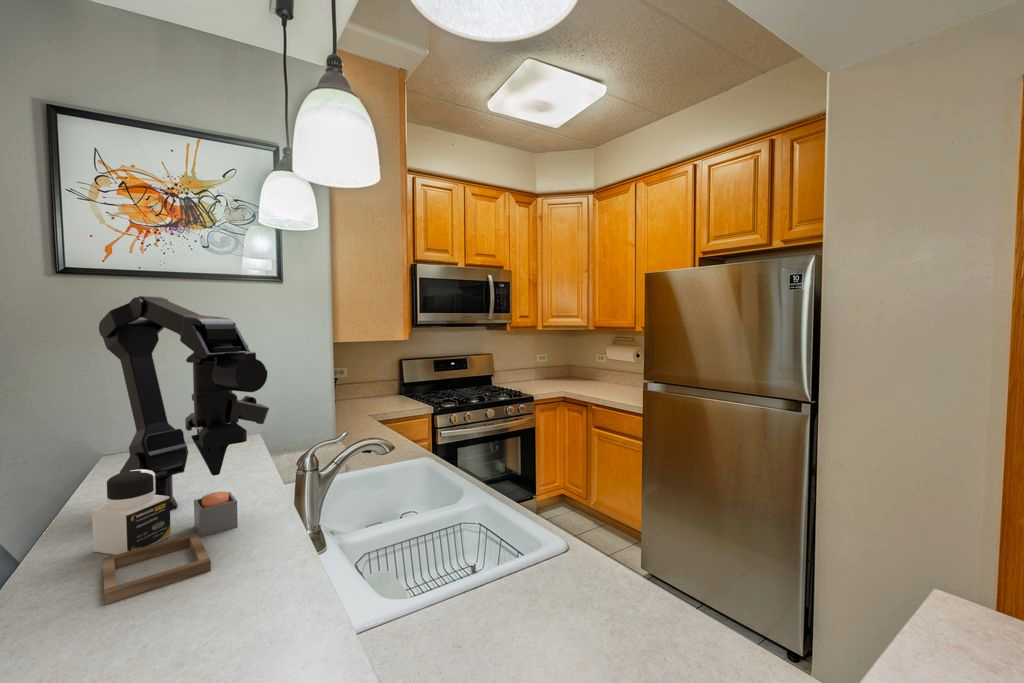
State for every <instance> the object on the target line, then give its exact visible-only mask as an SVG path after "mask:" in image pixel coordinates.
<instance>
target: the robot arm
mask: <svg viewBox="0 0 1024 683" xmlns="http://www.w3.org/2000/svg"><path fill="white" fill-rule="evenodd" d="M164 328H165V329H167V330H169V331H171V332H173V333H176V334H178V336H180V338H179V340H180V343H182V344H183V345H184V346H186V347H187V348H188V349H189V350H191V351H192V353H191V354H190V355H188V356H187V358H186V359H185V361H186V363H189V364H192V375H193V376H192V377H193V378H192V380H193V393H192V394H191V400H192V402H193V411H194V412H191V413H190V414H189V415H188V416H187V417H185V429H186V430H187V431H188V432H189V431H192V430H193V428H195V429H196V434H193V435H191V439H192V442H193V443H194V444H195V446H196V448H197V450H198V452H199V454H200V456H201V458H202V459H203V461H204V463H205V465H206V468H208V470H209V473H210V474H211V476H218V475H220V474H221V471H222V466H223V462H224V459H225V455H226V453H227V450H228V449H227V448H228V447H229V446H230V445H234V444H235V445H237V444H243V443H246V442H247V441H248V440H247V439H248V437H247V435H248V434H247V432H248V431H247V429H245V428H244V427H242V426H241V425H240V424H238V423H239V420H243V421H247V422H254V423H255V424H258V425H264V424H265V421H266V418H267V416H268V413H269V411H270V410H269V409H270V408H269V407H268V406H267V405H264V404H262V403H257V398H256V397H254V396H251V395H245V396H244V397H242V399H238V395H237V394H236V393H234V392H244V393H254V392H257V391H259V390H260V389H262V388H263V387H264V385H265V383H267V382H266V381H267V379H268V370H267V369H266V366H265V365H264V363H263V362H262V361H261V360H259V359H257V353H256V352H255V351H250V349H249V345H248V344H247V342H246V341H245V339H244V337H243V335H242V334H241V331H240V330H239V328H238V327H237V324H236V322H235V321H234V320H233V319H232V318H228V317H223V316H222V317H221V316H215V315H214V316H210V315H202V314H199V313H197V312H194V311H192V310H189V309H187V308H186V307H184V306H183V307H182V306H180V305H178V304H175V303H173V302H171V301H169V300H168V298H164V297H161V296H145V295H144V296H143V295H142V296H141V295H139V296H137V297H136V296H135V297H133V298H132V299H131V300H130V301H129V302H128V303H126V304H125V303H124V305H121V306H118V307H116V308H113V309H111V310H109V311H108V312H107V313H106V315H105V316H104V317H103V318H102V319H101V320H100V322H99V325H98V332H99V335H100V336H101V337H102V340H103V342H104V345H105V348H106V349H107V350H108V351H110V353H111V354H113V355H114V356H115V357H116V358H118V360H119V361H120V364H121V369H122V372H123V374H122V375H123V377H124V381H125V385H126V387H125V388H126V391H127V395H128V399H129V404H130V408H131V413H132V417H133V421H134V422H133V423H134V425H135V426H134V427H135V431H136V432H135V434H134V436H133V438H132V440H131V442H130V444H129V447H128V452H129V457H128V459H127V460H126V462H125V463H124V464H123V467H122V468H121V469H120V471H119V473H122V472H126V471H131V470H140V469H144V470H150V471H153V472H154V473H155V488H156V493H155V494H154V495H163V496H169V497H170V510H174V509H177V508H178V503H177V501H176V499H175V497H174V496H173V495H174V490H173V487H174V486H173V476H174V475H177V474H182V473H185V469H186V465H187V460H188V455H189V450H188V445H187V443H186V440H185V435H184V431H183V430H182V429H181V428H175V427H173V426H172V425H171V424H170V423H169V421H168V417H167V412H166V408H165V404H164V401H163V397H162V392H161V391H162V390H161V386H160V383H159V379H158V374H157V370H156V366H155V363H154V358H153V353H154V350H155V348H156V347H157V345H158V342H159V341H160V340H159V339H160V338H159V333H160V332H161V331H163V330H164Z"/></svg>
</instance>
